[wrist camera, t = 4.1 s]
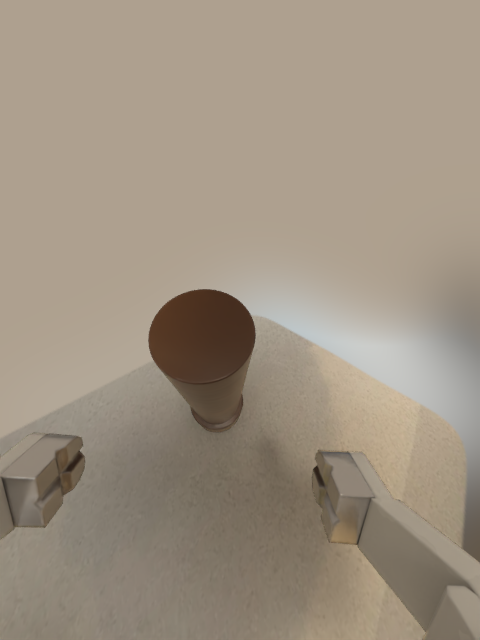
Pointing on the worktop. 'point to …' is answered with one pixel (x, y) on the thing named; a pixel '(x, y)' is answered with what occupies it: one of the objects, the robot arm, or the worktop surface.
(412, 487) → the worktop surface
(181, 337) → the brown flanged cylinder
